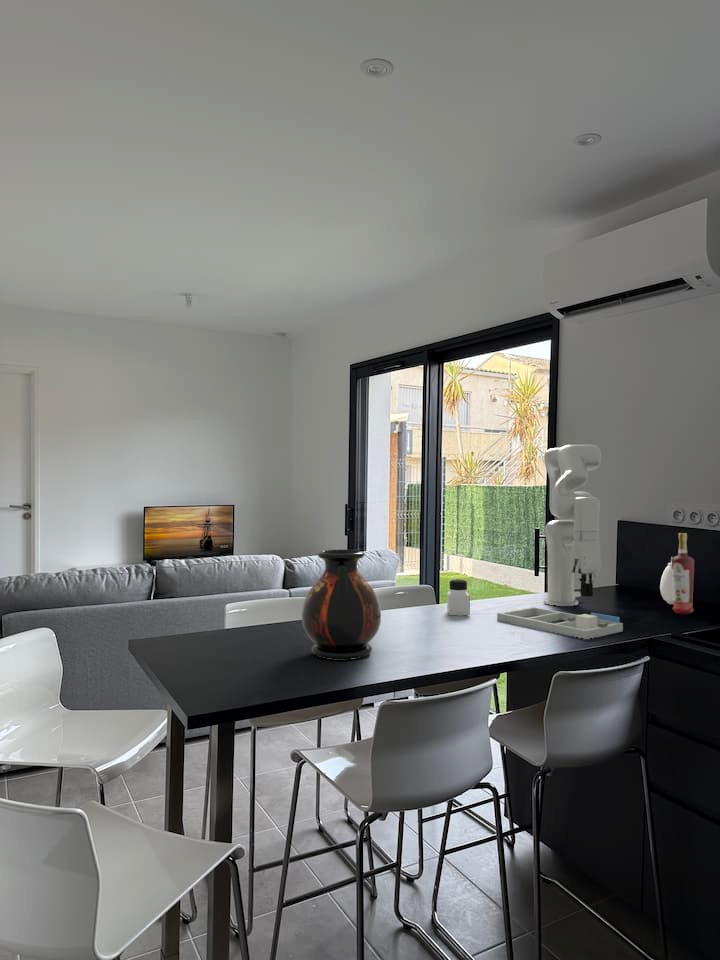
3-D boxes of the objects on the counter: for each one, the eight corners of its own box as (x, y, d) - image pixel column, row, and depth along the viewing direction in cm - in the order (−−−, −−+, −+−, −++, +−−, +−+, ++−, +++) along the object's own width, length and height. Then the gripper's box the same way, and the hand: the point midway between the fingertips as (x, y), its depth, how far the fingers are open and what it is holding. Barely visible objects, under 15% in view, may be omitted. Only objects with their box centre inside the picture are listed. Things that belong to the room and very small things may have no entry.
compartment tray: (534, 613, 247) (534, 602, 247) (623, 630, 219) (623, 618, 219) (497, 620, 235) (497, 608, 235) (586, 639, 207) (586, 626, 207)
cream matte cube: (584, 629, 221) (584, 613, 221) (597, 632, 218) (597, 616, 218) (576, 631, 218) (576, 615, 218) (588, 634, 215) (588, 617, 215)
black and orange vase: (303, 645, 202) (302, 548, 202) (377, 644, 203) (377, 547, 203) (301, 665, 180) (300, 556, 180) (384, 663, 182) (384, 555, 182)
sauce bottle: (655, 603, 266) (655, 555, 266) (669, 601, 269) (669, 554, 269) (673, 606, 259) (673, 557, 259) (687, 604, 262) (687, 556, 262)
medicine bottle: (469, 615, 244) (469, 581, 244) (449, 615, 244) (449, 581, 244) (467, 611, 251) (467, 578, 251) (447, 611, 251) (447, 578, 251)
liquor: (698, 613, 245) (698, 533, 245) (687, 616, 241) (686, 534, 241) (679, 610, 251) (678, 532, 251) (667, 612, 247) (667, 533, 247)
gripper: (590, 534, 225) (591, 592, 225) (561, 537, 216) (561, 596, 216) (611, 536, 219) (611, 595, 219) (581, 538, 210) (582, 600, 210)
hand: (586, 595), depth 218 cm, fingers closed
